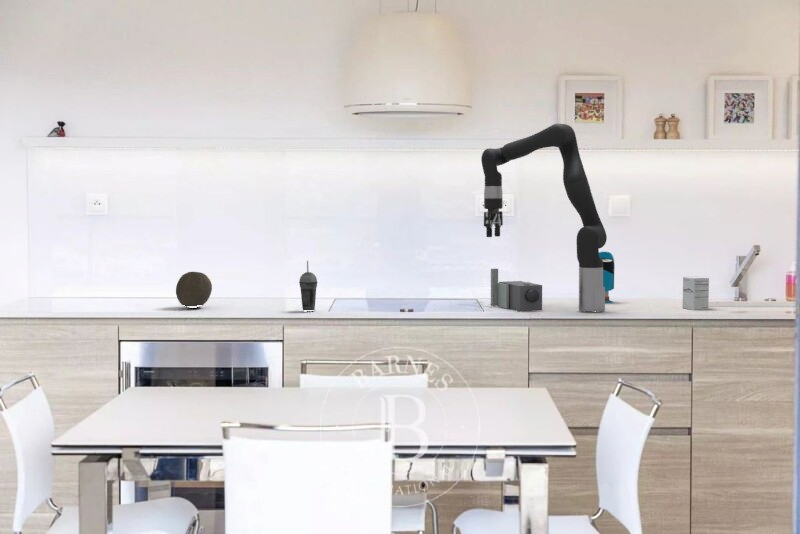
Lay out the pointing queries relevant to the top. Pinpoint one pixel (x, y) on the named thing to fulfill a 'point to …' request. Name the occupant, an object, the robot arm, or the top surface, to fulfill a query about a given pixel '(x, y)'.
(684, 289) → the supplement box
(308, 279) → the beverage cup
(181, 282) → the dark brown ball
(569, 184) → the robot arm
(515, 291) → the block
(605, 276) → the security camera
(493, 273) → the side door
